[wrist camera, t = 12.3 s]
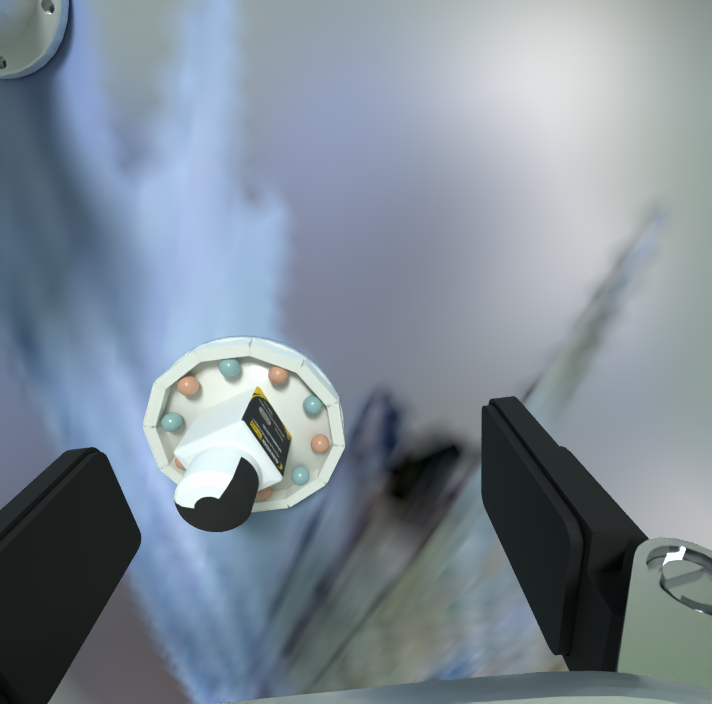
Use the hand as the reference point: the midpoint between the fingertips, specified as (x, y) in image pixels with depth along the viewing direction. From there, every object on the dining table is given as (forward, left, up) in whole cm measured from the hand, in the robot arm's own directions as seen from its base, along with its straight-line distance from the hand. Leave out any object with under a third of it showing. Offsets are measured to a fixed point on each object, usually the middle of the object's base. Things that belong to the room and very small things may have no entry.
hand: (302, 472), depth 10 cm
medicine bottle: (+14, -11, -28) cm, 33 cm away
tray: (+15, -11, -28) cm, 34 cm away
